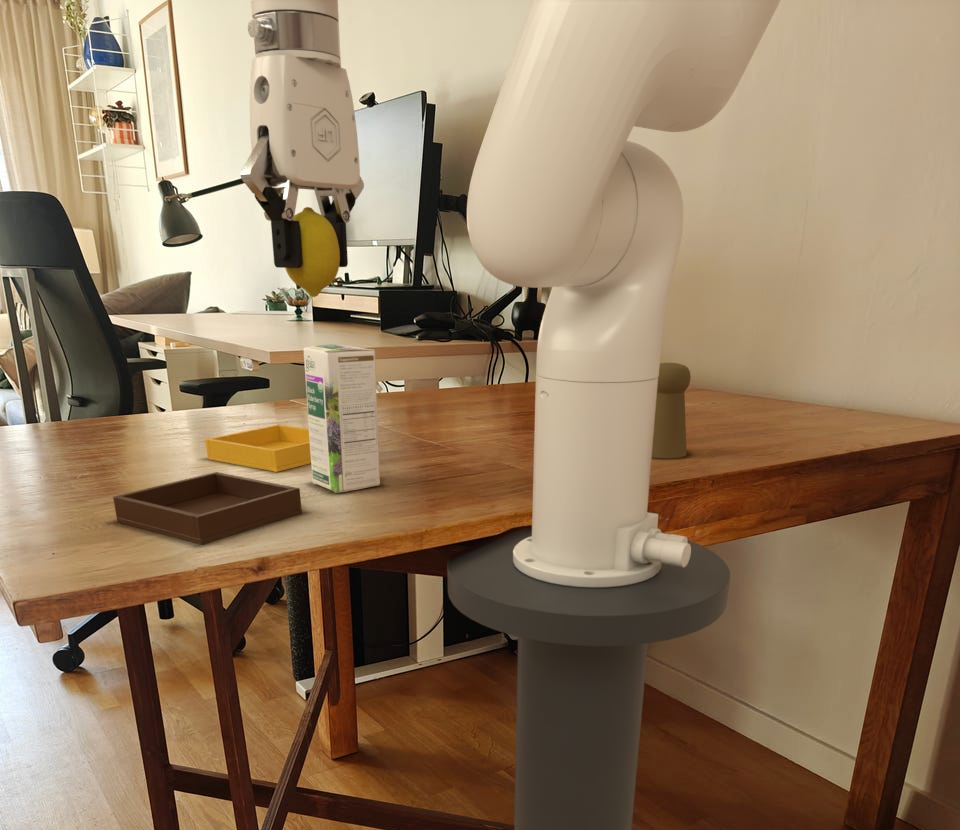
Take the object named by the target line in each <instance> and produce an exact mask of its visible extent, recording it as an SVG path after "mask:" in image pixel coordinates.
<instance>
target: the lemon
mask: <svg viewBox="0 0 960 830" xmlns="http://www.w3.org/2000/svg"><path fill="white" fill-rule="evenodd" d="M293 221H299V224H300V231H301V246H302V261H303V265H302V267H301V268H284V269H285V272H286V273H287V276H288V277H289V278H290V280H291V281H292V282H293V283H294V284H295V285H296V286H297V287H300V288H301V289H303V290H304V291H305V292H306V293H307V294H308V295H309V296H310V297H312V298H316V297H318V296H319V295H320V293H321V292H322V290H324V289H325V288H327V287H329V286H330V285H331V284H332V283H333V282H334V280H335V279H336V277H337V275H338V274H339V273H338V272H339V269H340V267H339V264H340V250H339V244H338V240H337V236H336V233H335V231H334V228H333V227H332V225H331V224H330V222H329V221H328V220H327V219H326V218H325V217H323V216H322V215H321V213H318V212H316V211H315V210H314V209H313V208H312V207H310V206H307V207H306V206H305V207H304V208H303V209H302V211H300V212H298V213H295V215H294V219H293Z"/></svg>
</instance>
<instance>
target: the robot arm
mask: <svg viewBox="0 0 960 830" xmlns="http://www.w3.org/2000/svg"><path fill="white" fill-rule="evenodd" d="M780 3H781V0H532V1H531V3H530V6H529V9H528V11H527V13H526V16H525V19H524V22H523V25H522V27H521V29H520V33H519V35H518V39H517V40H516V41H517V42H516V45H515V47H514V50H513V52H512V55H511V58H510V62H509V65H508V67H507V70H506V73H505V76H504V79H503V82H502V85H501V87H500V90H499V93H498V95H497V99H496V102H495V104H494V107H493V110H492V113H491V116H490V119H489V122H488V125H487V127H486V131H485V134H484V136H483V139H482V143H481V146H480V148H479V151H478V153H477V157H476V160H475V164H474V167H473V170H472V174H471V177H470V183H469V188H468V194H467V200H466V201H467V202H466V225H467V232H468V236H469V241H470V245H471V247H472V250H473V253H474V255H475V256H476V258H477V260H478V261H479V263H480V264H481V266H482V267H483V268H484V269H485V270H486V271H487V272H488V273H489V274H490V275H491V276H493V277H494V278H496V279H497V280H499V281H501V282H503V283H505V284H508V285H511V286H515V287H520V288H531V289H532V288H533V289H536V288H537V289H539V288H551V290H550V293H549V297H548V299H547V302H546V305H545V308H544V311H543V314H542V319H541V321H540V326H539V331H538V337H537V345H536V359H535V360H536V361H535V362H536V363H535V390H534V391H535V392H534V393H535V394H534V396H535V397H534V435H533V437H534V438H533V440H534V441H533V468H532V469H533V475H532V511H531V512H532V515H531V516H532V517H531V525H532V536H531V537H528V538H526V539H524V540H522V541H520V542H519V543H518V544H517V545H516V546H515V547H514V550H513V563H514V565H515V567H516V568H517V569H518V570H520V571H521V572H522V573H524V574H526V575H527V576H529V577H532V578H534V579H537V580H540V581H544V582H547V583H552V584H557V585H562V586H570V587H582V588H609V587H620V586H626V585H632V584H636V583H639V582H643V581H645V580H648V579H650V578H652V577H653V576H655V575H656V574H657V573H658V572H659V571H660V569H661V566H662V563H663V564H667V565H672V566H678V567H683V568H684V567H686V565H687V564H688V562H689V559H690V555H691V546H690V544H688V543H687V540H688V537H687V536H685V535H679V534H673V533H670V534H669V533H666V534H665V532H662V530H661V529H660V528H658V524H659V513H655V512H648V507H649V495H650V494H649V493H650V483H651V481H650V480H651V469H652V446H653V434H654V422H655V410H656V397H657V385H658V376H659V366H660V363H661V355H662V344H663V335H664V324H665V318H666V311H667V306H668V299H669V294H670V290H671V284H672V280H673V276H674V272H675V268H676V264H677V261H678V256H679V251H680V248H681V247H680V246H681V241H682V236H683V229H684V202H683V196H682V192H681V189H680V185H679V183H678V180H677V178H676V176H675V174H674V172H673V170H672V169H671V167H670V166H669V165H668V164H667V162H665V160H664V159H663V158H662V157H660V156H659V155H658V154H657V153H656V152H654V151H653V150H651V149H650V148H648V147H646V146H644V145H642V144H640V143H637V142H634V141H630V140H628V139H629V138H630V134H631V133H632V131H633V129H634V127H637V128H642V129H649V130H653V131H660V132H666V133H667V132H668V133H682V132H683V133H684V132H689V131H693V130H695V129H699V128H701V127H704V126H705V125H706V124H708V123H710V122H711V121H712V120H713V119H714V118H715V117H717V115H718V114H719V113H720V112H721V111H722V110H723V109H724V108H725V106H726V105H727V104H728V102H729V101H730V99H731V98H732V96H733V94H734V92H735V91H736V89H737V87H738V85H739V83H740V82H741V79H742V77H743V76H744V74H745V72H746V70H747V67H748V65H749V64H750V61H751V60H752V57H753V56H754V54H755V52H756V50H757V48H758V46H759V44H760V42H761V40H762V38H763V36H764V34H765V32H766V30H767V28H768V26H769V24H770V22H771V20H772V18H773V16H774V14H775V12H776V11H777V8H778V6H779V5H780ZM250 6H251V7H250V8H251V17H252V18H251V19H250V20H249V21H248V24H247V32H248V34H249V36H250V37H251V38H253V41H254V55H255V57H254V58H253V59H252V60H251V69H250V70H251V71H250V72H251V73H250V83H249V85H250V86H249V125H250V126H249V129H250V131H249V132H250V144H251V145H250V146H251V152H250V155H249V156H248V158H247V161H246V162H245V164H244V165H243V168H242V169H241V171H240V179H241V180H242V182H243V183H244V185H246V187H247V188H248V189H249V191H250V192H251V193H252V194H254V198H255V200H256V202H257V203H258V204H259V206H260V207H261V209H262V210H263V215H264V218H265V220H267V221H268V222H270V229H271V242H272V254H273V264H274V266H275V268H277V269H278V268H280V269H282V268H283V269H285V268H301V267H302V265H303V261H302V246H301V231H300V224H299V221H293V219H294V215H296V208H297V202H298V196H299V190H309V191H311V190H313V192H314V194H315V199H316V201H317V204H318V208H319V212H320V215H322V216H323V217H325V218H326V219H327V220H328V221H329V222H330V224H331V225H332V227H333V228H334V231H335V233H336V236H337V240H338V244H339V250H340V264H339V268H347V267H348V264H349V261H348V260H349V259H348V241H347V237H348V236H347V224H348V223H349V222H350V221H351V212H352V211H353V208H354V207H355V205H356V201H357V200H358V198H359V196H360V195H361V193H362V191H363V190H364V188H365V183H364V181H363V179H362V177H361V168H360V149H359V140H358V129H357V121H356V113H355V107H354V100H353V99H354V98H353V93H352V90H351V85H350V80H349V77H348V71H347V69H346V68H343V67H342V60H341V57H342V56H341V42H340V41H341V38H340V37H341V36H340V22H339V21H340V20H339V19H340V18H339V17H340V16H339V14H340V13H339V0H250ZM282 194H283V195H282ZM281 196H282V198H281ZM330 197H332V198H333V200H332V202H331V200H330ZM661 532H662V533H661Z"/></svg>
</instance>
